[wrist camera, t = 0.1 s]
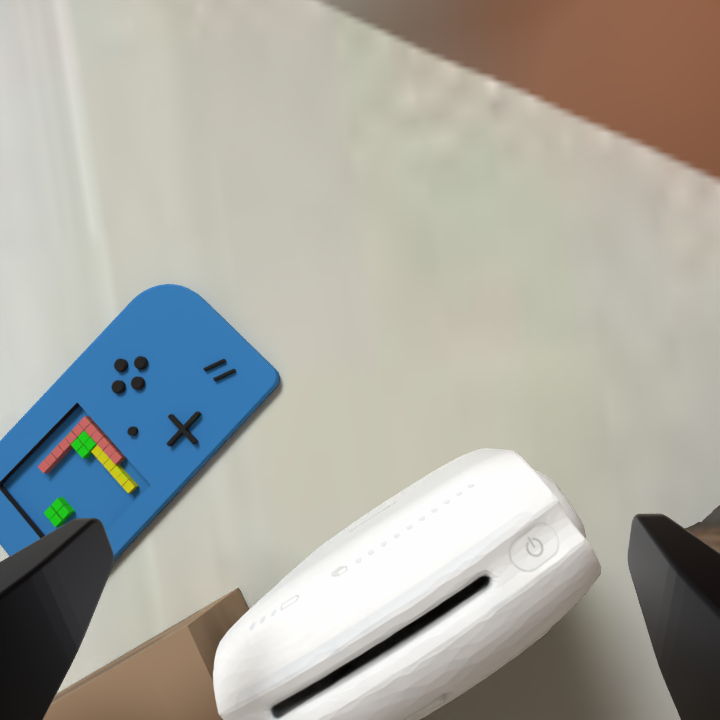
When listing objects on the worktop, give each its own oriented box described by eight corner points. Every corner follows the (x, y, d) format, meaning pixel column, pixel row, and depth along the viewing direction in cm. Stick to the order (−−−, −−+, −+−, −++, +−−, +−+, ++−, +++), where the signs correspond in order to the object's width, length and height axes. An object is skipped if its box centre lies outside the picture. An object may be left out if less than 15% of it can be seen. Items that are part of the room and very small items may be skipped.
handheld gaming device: (280, 376, 24) (53, 619, 24) (287, 378, 25) (69, 612, 25) (162, 261, 26) (-51, 489, 26) (173, 268, 27) (-31, 487, 27)
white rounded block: (487, 432, 23) (541, 423, 11) (546, 519, 23) (672, 610, 10) (292, 558, 24) (142, 679, 12) (342, 648, 23) (237, 879, 11)
